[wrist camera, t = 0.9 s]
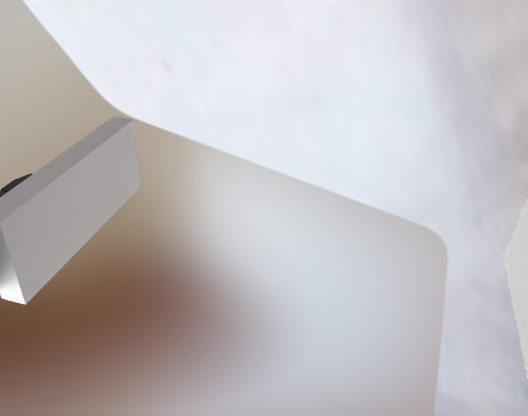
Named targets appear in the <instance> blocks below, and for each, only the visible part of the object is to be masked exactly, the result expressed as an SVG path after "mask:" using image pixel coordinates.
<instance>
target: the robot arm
mask: <svg viewBox="0 0 528 416" xmlns="http://www.w3.org/2000/svg"><path fill="white" fill-rule="evenodd" d="M140 187H141V183H140V174H139V165H138V156H137V147H136V138H135V130H134V120H133V119H127V118H121V117H115V116H114V117H112V118H111V119H110V120H108V121H107V122H106V123H104V124H103V125H101V126H100V127H98V128H97V129H96V130H94V131H93V132H91V133H90V134H89V135H87V136H86V137H84V138H83V139H82V140H80V141H79V142H77V143H76V144H75V145H73V146H72V147H70V148H69V149H68V150H66V151H65V152H63V153H62V154H61V155H59V156H58V157H56V158H55V159H54V160H52V161H51V162H49V163H48V164H47V165H45V166H44V167H42V168H41V169H40V170H38V171H37V172H35V173H34V174H28V175H26V176H23V177H21V178H18V179H16V180H14V181H12V182H11V183H9V184H8V185H6V186H5V187H3V188H2V189H1V191H0V295H1V297H2V298H3V299H6V300H11V301H14V302H18V303H22V304H27V303H28V301H30V299H31V298H32V297H33V296H34V295H35V294H36V293H37V292H38V291H39V290H40V289H41V288H42V287H43V286H44V285H45V284H46V283H47V282H48V281H49V280H50V279H51V278H52V277H53V276H54V275H55V274H56V273H57V272H58V271H59V270H60V269H61V268H62V267H63V266H64V265H65V264H66V262H67V261H69V260H70V258H71V257H72V256H73V255H74V254H75V253H76V252H77V251H78V250H79V249H80V248H81V247H82V246H83V245H84V244H85V243H86V242H87V241H88V240H89V239H90V238H91V237H92V236H93V235H94V234H95V233H96V232H97V231H98V230H99V229H100V228H101V227H102V226H103V225H104V224H105V223H106V222H107V221H108V220H109V219H110V218H111V216H112V215H113V214H114V213H115V212H116V211H117V210H118V209H119V208H120V207H121V206H122V205H123V204H124V203H125V202H126V201H127V200H128V199H129V198H130V197H131V196H132V195H133V194H134V193H135V192H136V191H137V190H138V189H139V188H140ZM503 261H504V266H505V271H506V275H507V280H508V285H509V290H510V295H511V300H512V305H513V310H514V315H515V320H516V324H517V329H518V334H519V339H520V344H521V349H522V354H523V359H524V364H525V369H526V373H527V378H528V197H527V200H526V202H525V204H524V207H523V209H522V212H521V214H520V217H519V219H518V221H517V224H516V226H515V229H514V231H513V234H512V236H511V239H510V241H509V243H508V246H507V248H506V251H505V253H504V256H503Z"/></svg>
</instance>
